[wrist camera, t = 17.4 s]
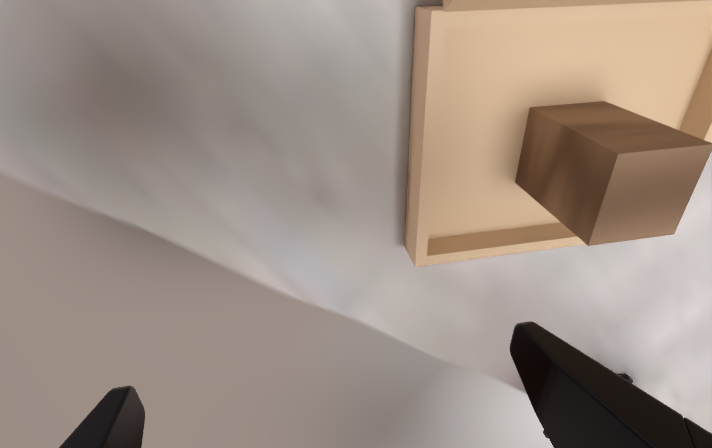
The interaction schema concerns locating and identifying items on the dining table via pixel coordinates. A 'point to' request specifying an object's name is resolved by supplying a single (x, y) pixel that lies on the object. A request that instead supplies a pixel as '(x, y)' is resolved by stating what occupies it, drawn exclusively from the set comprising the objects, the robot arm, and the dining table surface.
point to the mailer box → (532, 89)
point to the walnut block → (609, 170)
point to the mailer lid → (533, 3)
